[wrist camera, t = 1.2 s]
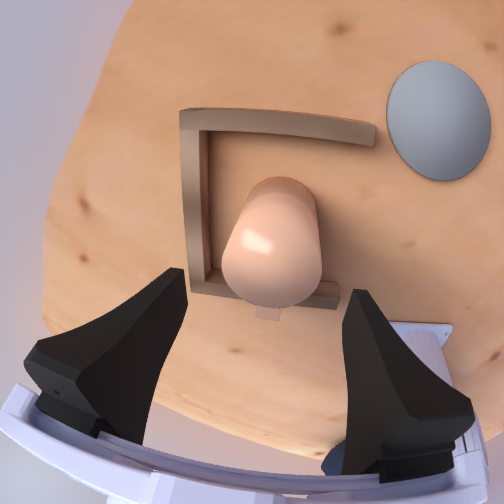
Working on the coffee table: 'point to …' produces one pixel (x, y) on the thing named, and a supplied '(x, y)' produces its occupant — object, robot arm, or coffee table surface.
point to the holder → (196, 180)
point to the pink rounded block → (274, 247)
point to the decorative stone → (334, 461)
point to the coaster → (438, 120)
